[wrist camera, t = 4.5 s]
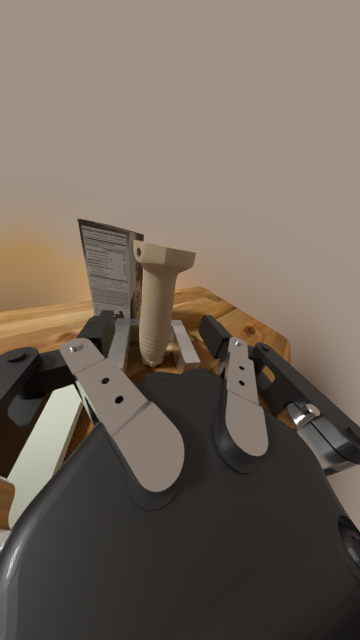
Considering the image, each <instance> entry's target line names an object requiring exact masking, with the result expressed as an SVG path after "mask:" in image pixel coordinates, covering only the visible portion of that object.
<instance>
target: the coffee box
mask: <svg viewBox="0 0 360 640" xmlns="http://www.w3.org/2000/svg"><path fill="white" fill-rule="evenodd" d="M78 223H79V229H80V235H81V240H82V247H83V252H84V258H85V264H86V269H87V275H88V280H89V286H90V293H91V298H92V304H93V310H94V316H99V315H100V314H101V312H102V310H113V311H114V317H115V325H116V322H117V319H118V318H132V319H138V318H139V315H140V313H141V305H142V280H143V266H142V265H141V264H140V263H139V262H138V261H137V260H136V259H135V256H134V240H138V241H144V239H143V238H144V237H143V236H144V235H143V234H139V233H136V232H133V231H129V230H125V229H122V228H118V227H115V226H111V225H107V224H102V223H97V222H93V221H88V220H83V219H78Z"/></svg>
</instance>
